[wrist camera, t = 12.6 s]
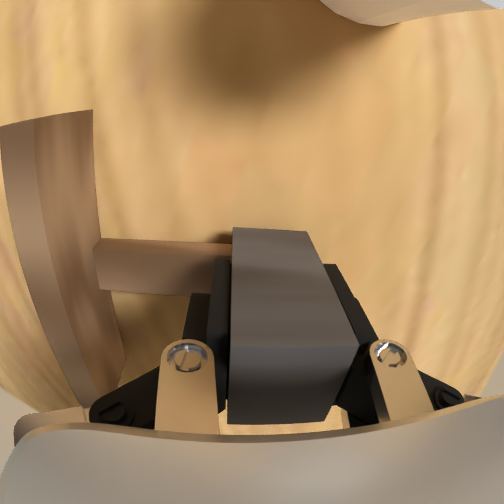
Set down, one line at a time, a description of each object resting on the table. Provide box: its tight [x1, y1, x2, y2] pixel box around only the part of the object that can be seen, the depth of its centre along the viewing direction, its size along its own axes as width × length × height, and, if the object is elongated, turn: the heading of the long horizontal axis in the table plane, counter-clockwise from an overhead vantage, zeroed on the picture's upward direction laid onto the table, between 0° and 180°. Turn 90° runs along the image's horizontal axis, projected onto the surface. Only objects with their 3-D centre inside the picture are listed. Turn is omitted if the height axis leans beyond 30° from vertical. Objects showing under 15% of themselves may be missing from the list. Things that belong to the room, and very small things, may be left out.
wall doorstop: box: [0, 110, 359, 425], centre depth 10 cm, size 13×10×6 cm
